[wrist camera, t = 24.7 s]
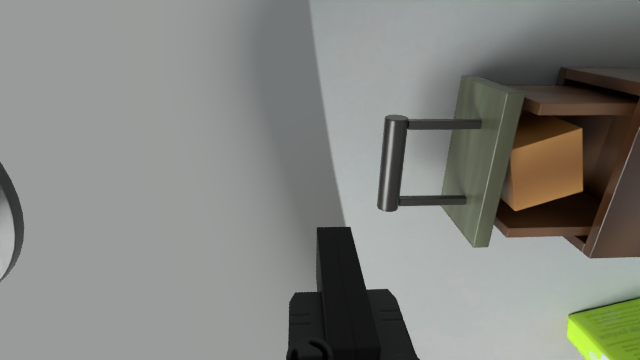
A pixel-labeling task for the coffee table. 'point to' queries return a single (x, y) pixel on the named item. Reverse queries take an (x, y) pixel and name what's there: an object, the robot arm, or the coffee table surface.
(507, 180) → the block
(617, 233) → the cabinet
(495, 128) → the drawer
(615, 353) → the box
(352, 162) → the coffee table surface
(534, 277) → the coffee table surface
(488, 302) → the coffee table surface
